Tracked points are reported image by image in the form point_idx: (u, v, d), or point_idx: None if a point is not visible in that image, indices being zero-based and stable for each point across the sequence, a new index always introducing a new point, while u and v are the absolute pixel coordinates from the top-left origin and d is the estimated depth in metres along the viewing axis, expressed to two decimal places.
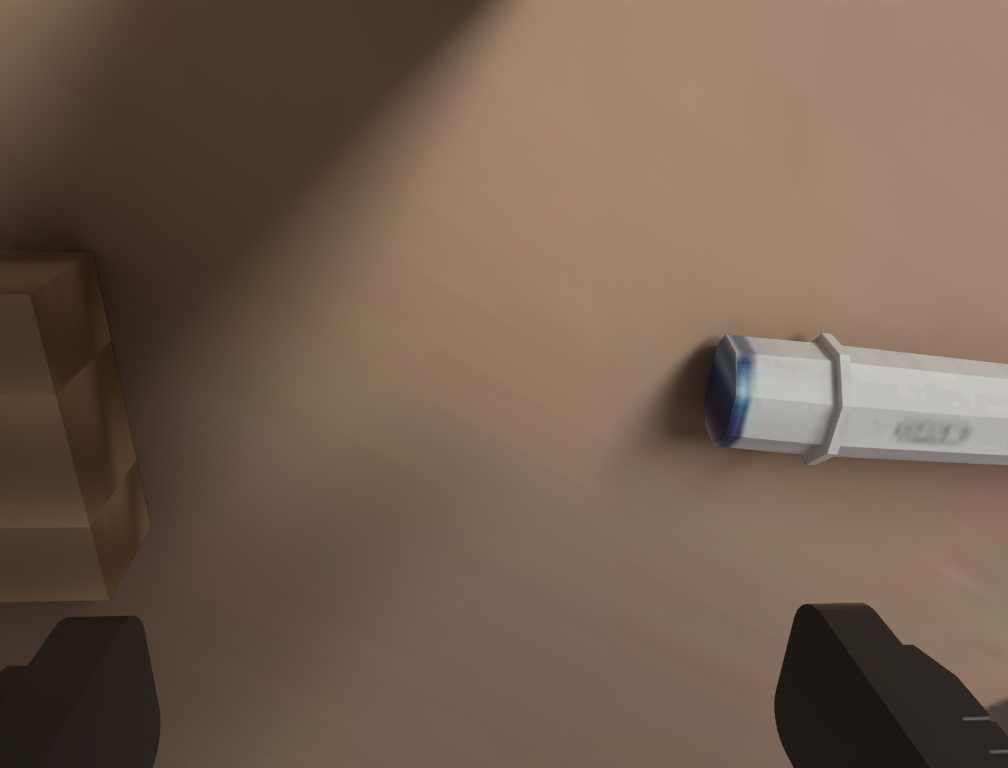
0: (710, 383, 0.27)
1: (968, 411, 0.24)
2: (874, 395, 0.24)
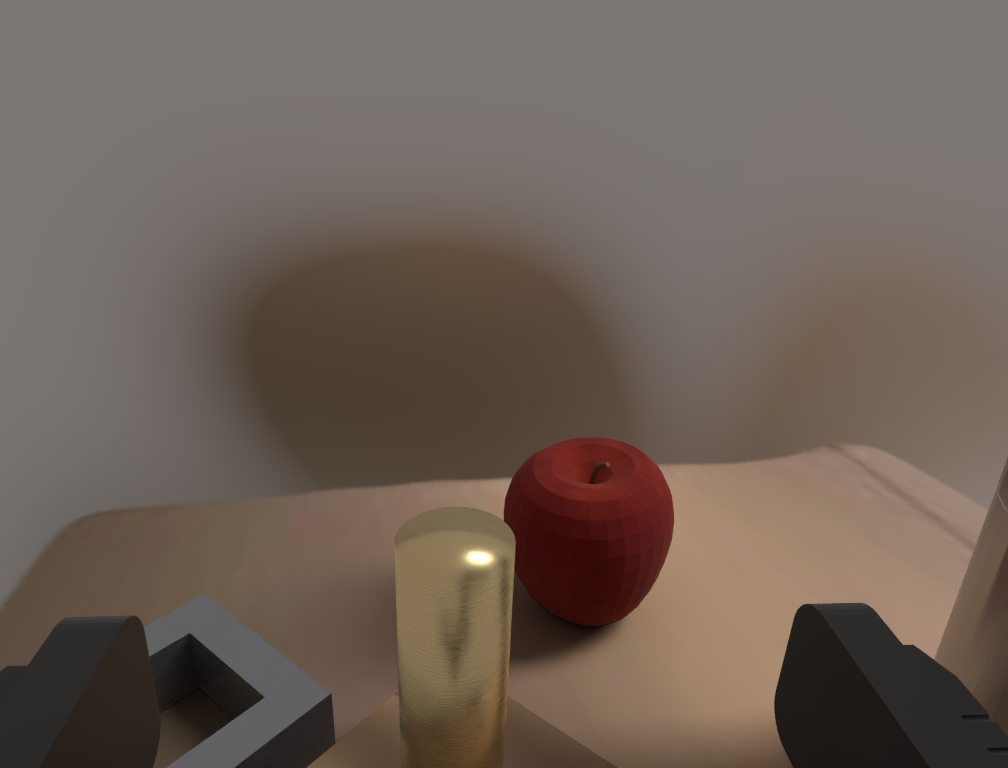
0: None
1: None
2: None
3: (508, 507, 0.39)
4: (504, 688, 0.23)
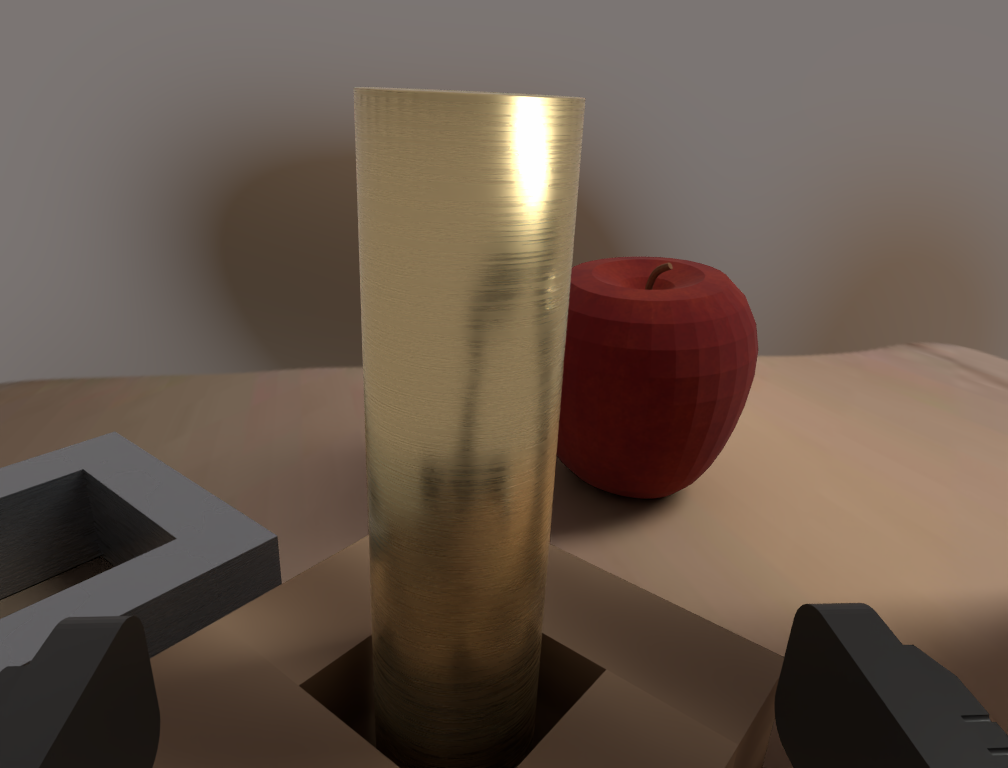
0: None
1: None
2: None
3: None
4: (555, 413, 0.13)
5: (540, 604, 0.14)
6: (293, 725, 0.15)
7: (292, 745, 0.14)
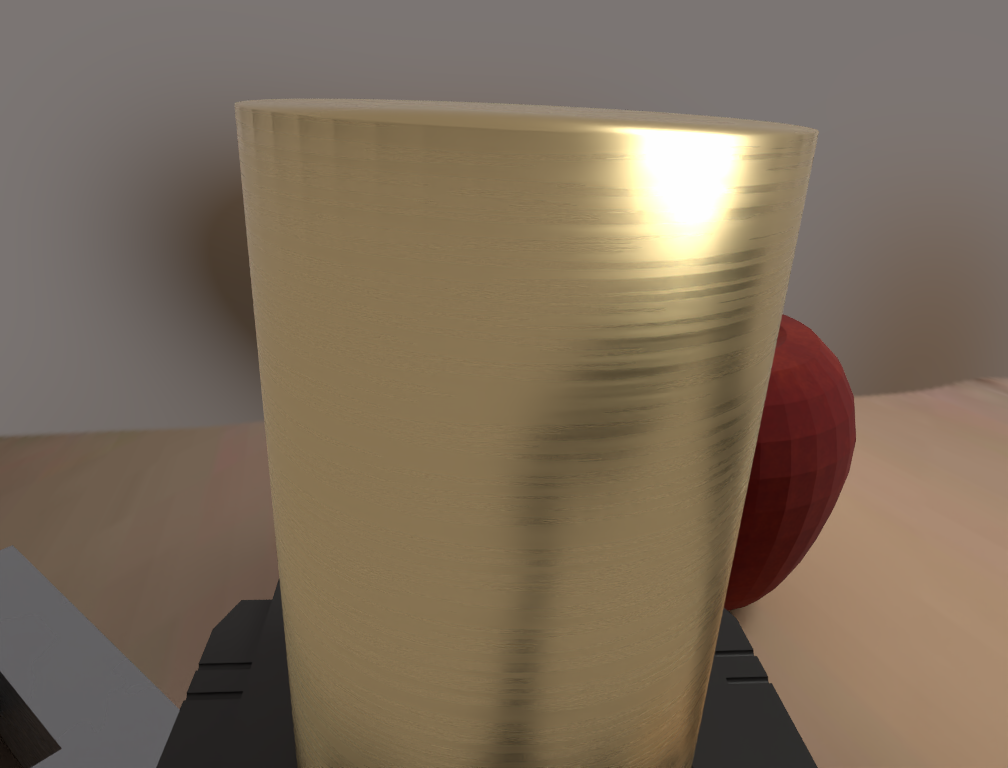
0: None
1: None
2: None
3: None
4: None
5: None
6: None
7: None
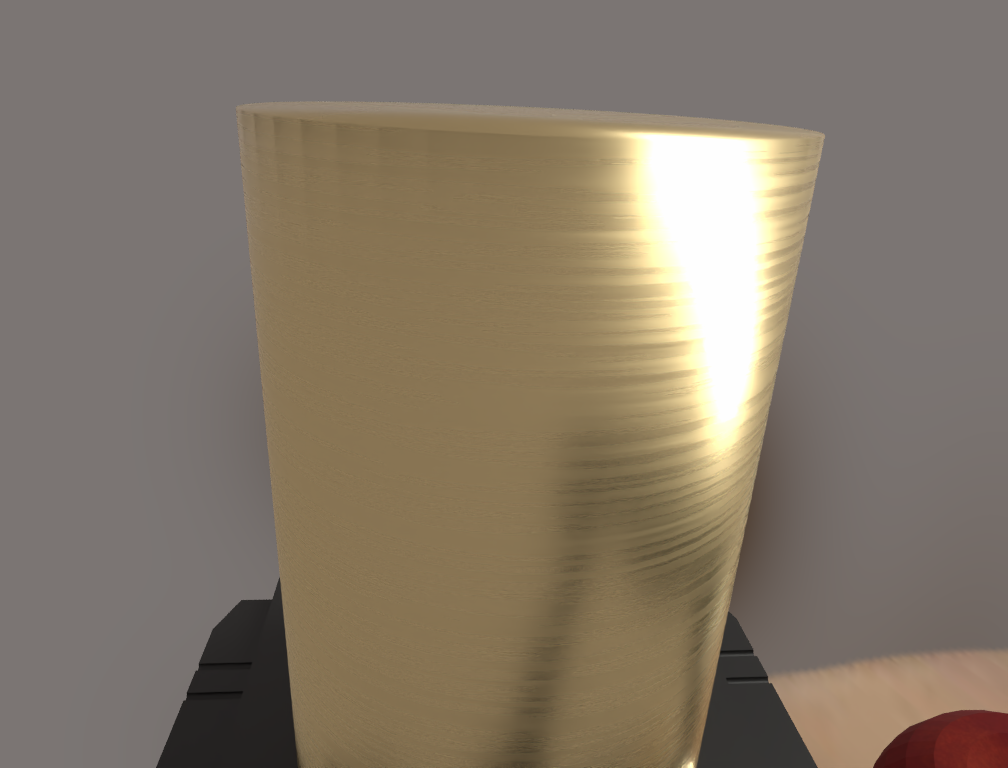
0: None
1: None
2: None
3: None
4: None
5: None
6: None
7: None
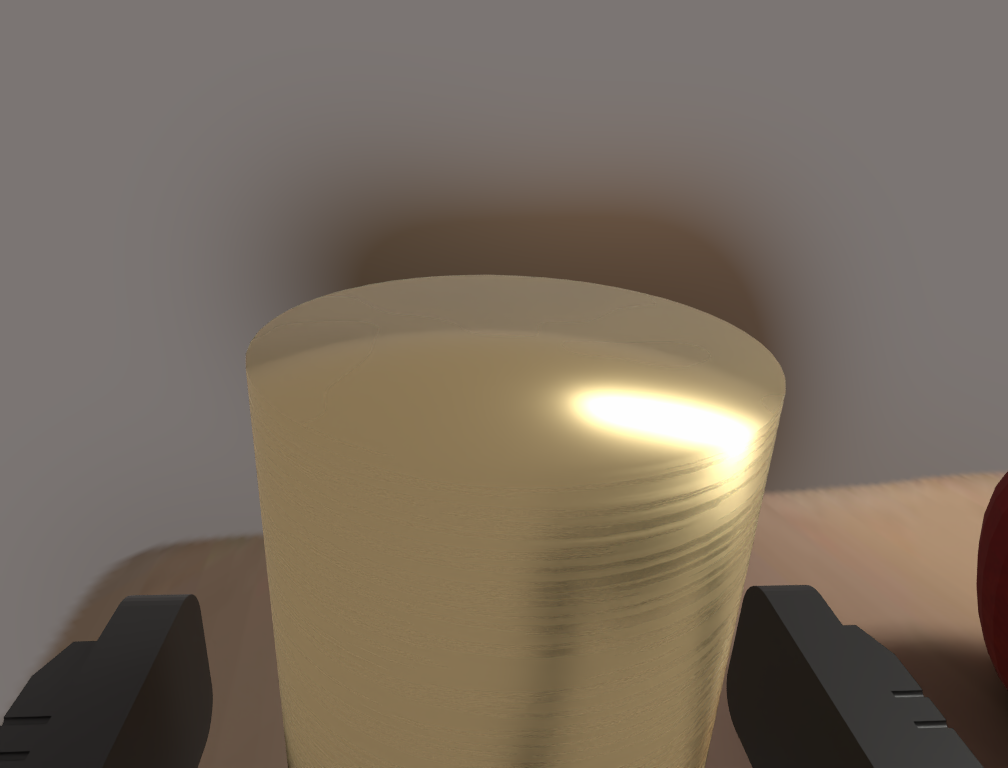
0: None
1: None
2: None
3: None
4: None
5: None
6: None
7: None
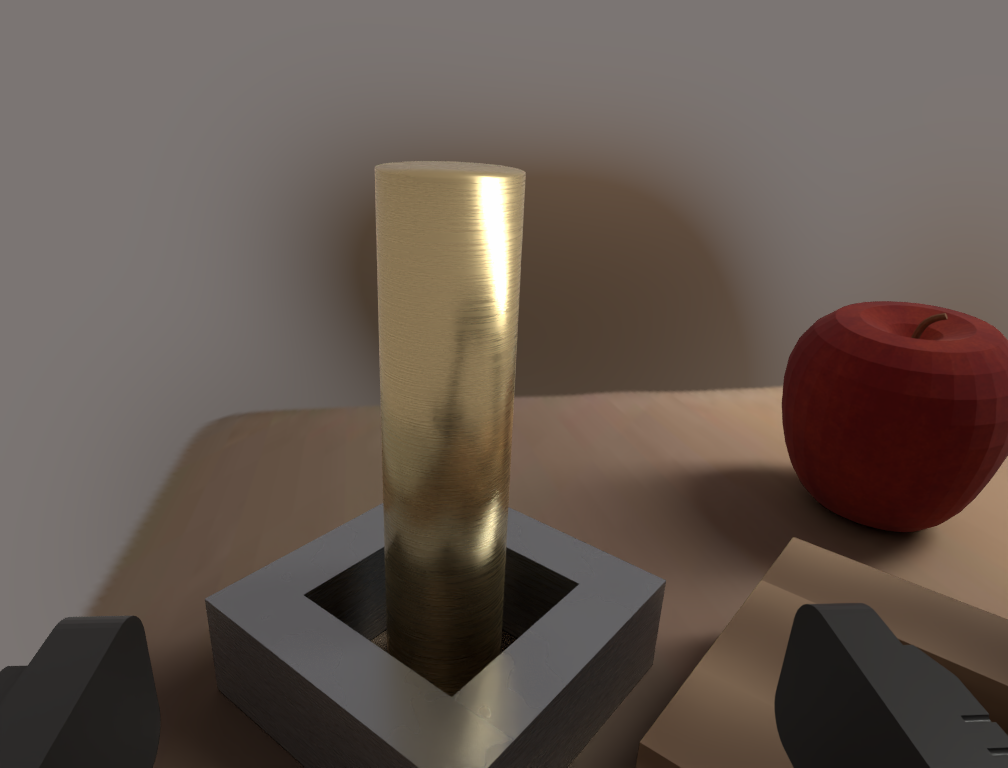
0: None
1: None
2: None
3: (808, 375, 0.31)
4: (510, 381, 0.19)
5: (503, 518, 0.20)
6: None
7: None
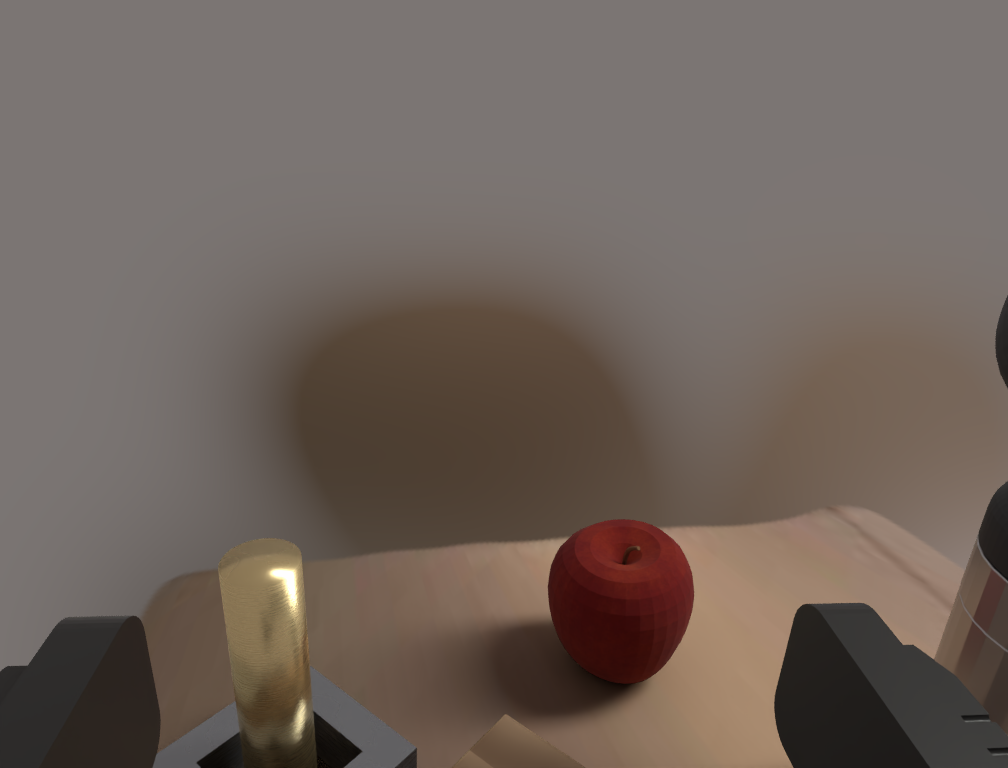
0: None
1: None
2: None
3: (553, 583, 0.47)
4: (300, 661, 0.34)
5: (305, 726, 0.36)
6: None
7: None
